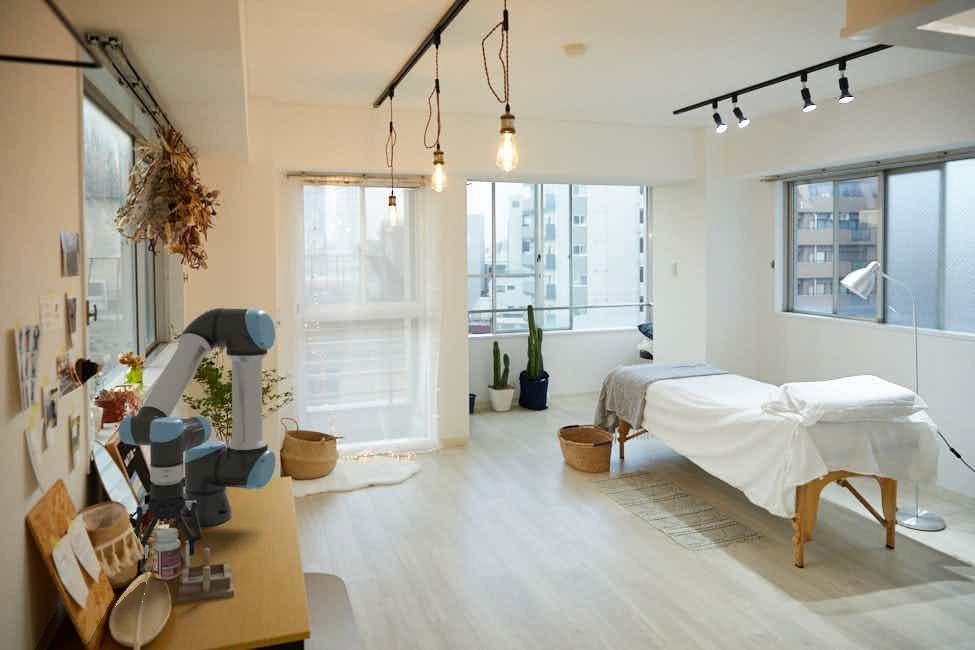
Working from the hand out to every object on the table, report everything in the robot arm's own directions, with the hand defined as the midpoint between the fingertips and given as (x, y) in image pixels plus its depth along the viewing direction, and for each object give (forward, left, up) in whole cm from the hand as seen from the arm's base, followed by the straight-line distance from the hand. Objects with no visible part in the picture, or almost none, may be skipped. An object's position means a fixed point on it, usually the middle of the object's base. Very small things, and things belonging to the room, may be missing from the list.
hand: (167, 570), depth 181 cm
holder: (+10, +9, -1) cm, 14 cm away
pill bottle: (0, 0, -2) cm, 2 cm away
